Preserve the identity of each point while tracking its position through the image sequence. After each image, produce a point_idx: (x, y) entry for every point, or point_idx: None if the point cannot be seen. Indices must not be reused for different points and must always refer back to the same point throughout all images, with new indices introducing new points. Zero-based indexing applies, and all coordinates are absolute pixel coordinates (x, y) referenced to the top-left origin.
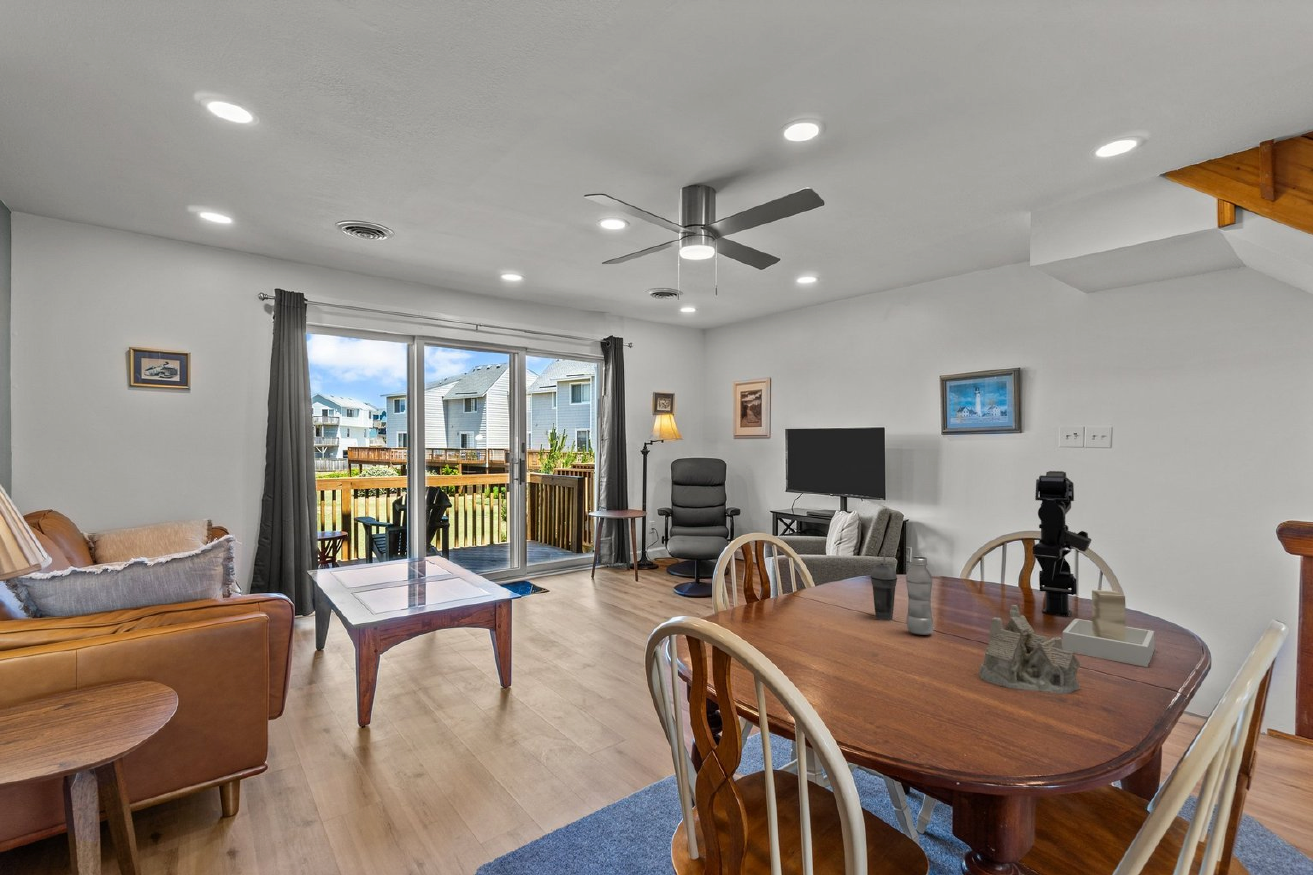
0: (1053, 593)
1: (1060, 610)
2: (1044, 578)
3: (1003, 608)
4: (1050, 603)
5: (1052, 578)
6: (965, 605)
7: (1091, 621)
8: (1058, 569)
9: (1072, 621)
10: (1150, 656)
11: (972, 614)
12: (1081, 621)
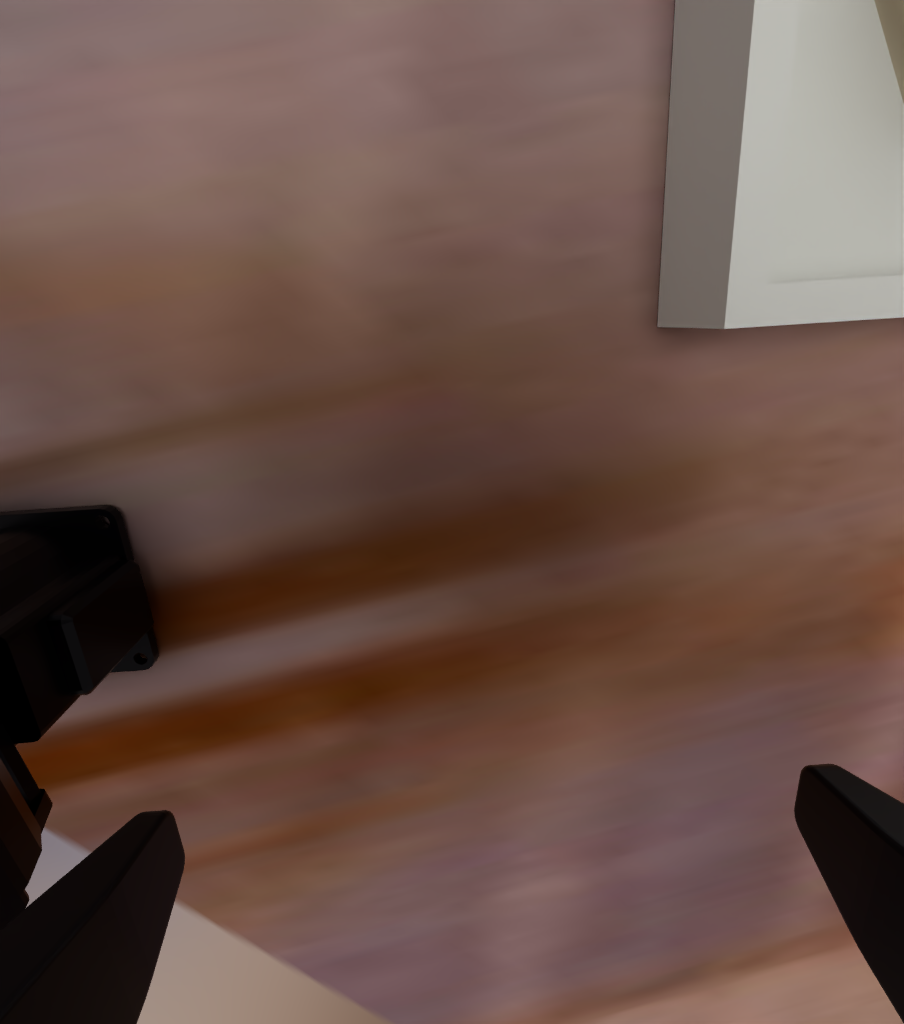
0: (27, 697)
1: (106, 568)
2: (7, 902)
3: (255, 840)
4: (114, 656)
5: (860, 788)
6: (370, 977)
7: (763, 165)
8: (101, 936)
9: (877, 316)
10: None
11: (555, 896)
12: (763, 262)
